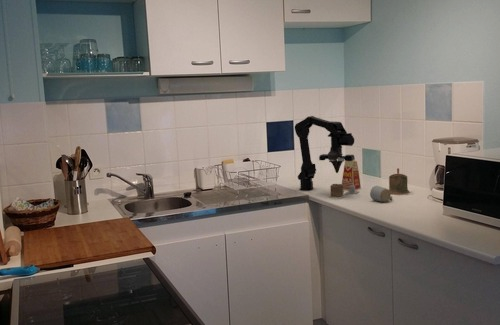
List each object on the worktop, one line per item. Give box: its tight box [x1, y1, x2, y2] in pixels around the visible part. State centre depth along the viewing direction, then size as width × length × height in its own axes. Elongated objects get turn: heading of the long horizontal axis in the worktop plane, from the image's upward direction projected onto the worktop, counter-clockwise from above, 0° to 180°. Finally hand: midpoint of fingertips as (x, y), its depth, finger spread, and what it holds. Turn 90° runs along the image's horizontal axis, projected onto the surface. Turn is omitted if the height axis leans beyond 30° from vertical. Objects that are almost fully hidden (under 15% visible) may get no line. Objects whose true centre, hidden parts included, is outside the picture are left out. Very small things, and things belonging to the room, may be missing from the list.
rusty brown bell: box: [388, 167, 410, 196], centre depth 285 cm, size 12×18×12 cm, turn 164°
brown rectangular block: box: [329, 183, 344, 197], centre depth 279 cm, size 5×5×6 cm
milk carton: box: [341, 159, 362, 192], centre depth 297 cm, size 9×9×20 cm
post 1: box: [328, 194, 346, 199], centre depth 279 cm, size 7×7×6 cm
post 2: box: [345, 185, 360, 195], centre depth 287 cm, size 6×6×4 cm
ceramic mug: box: [369, 185, 393, 203], centre depth 265 cm, size 11×8×8 cm
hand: (337, 172), depth 285 cm, fingers closed
